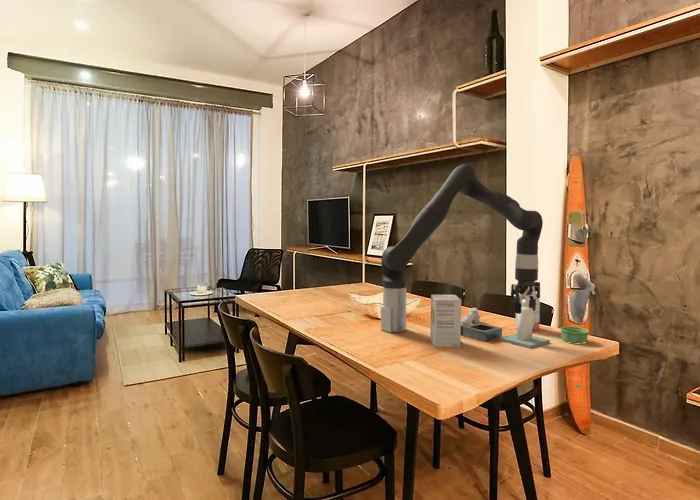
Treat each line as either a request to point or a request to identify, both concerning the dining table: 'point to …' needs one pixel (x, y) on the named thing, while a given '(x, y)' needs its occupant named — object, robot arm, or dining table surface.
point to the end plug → (525, 324)
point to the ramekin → (574, 334)
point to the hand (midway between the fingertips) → (525, 311)
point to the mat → (528, 344)
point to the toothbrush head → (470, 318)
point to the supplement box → (445, 321)
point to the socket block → (482, 332)
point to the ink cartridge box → (535, 313)
